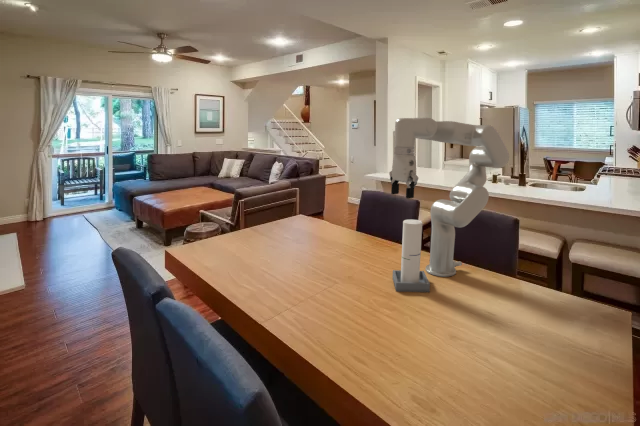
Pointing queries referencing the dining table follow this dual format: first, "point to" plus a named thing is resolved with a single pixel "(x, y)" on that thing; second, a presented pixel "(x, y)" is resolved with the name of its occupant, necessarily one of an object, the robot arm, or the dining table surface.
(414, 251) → the cylindrical container
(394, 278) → the tray
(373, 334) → the dining table surface
